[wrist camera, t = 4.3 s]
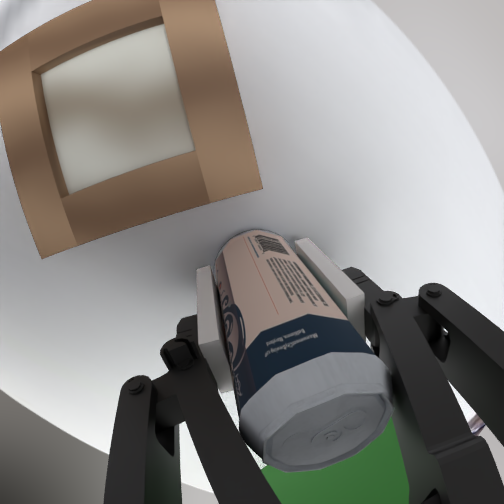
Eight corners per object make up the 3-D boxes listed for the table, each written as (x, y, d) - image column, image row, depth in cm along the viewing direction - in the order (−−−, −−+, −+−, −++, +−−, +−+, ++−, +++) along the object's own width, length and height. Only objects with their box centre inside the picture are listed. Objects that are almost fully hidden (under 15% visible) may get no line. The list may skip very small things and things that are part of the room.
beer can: (196, 261, 17) (205, 448, 6) (263, 209, 17) (377, 344, 6) (246, 315, 19) (299, 488, 8) (307, 270, 19) (419, 417, 8)
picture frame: (16, 64, 11) (-8, 56, 9) (203, -11, 12) (205, -33, 9) (60, 242, 16) (41, 259, 13) (253, 181, 16) (263, 188, 14)
